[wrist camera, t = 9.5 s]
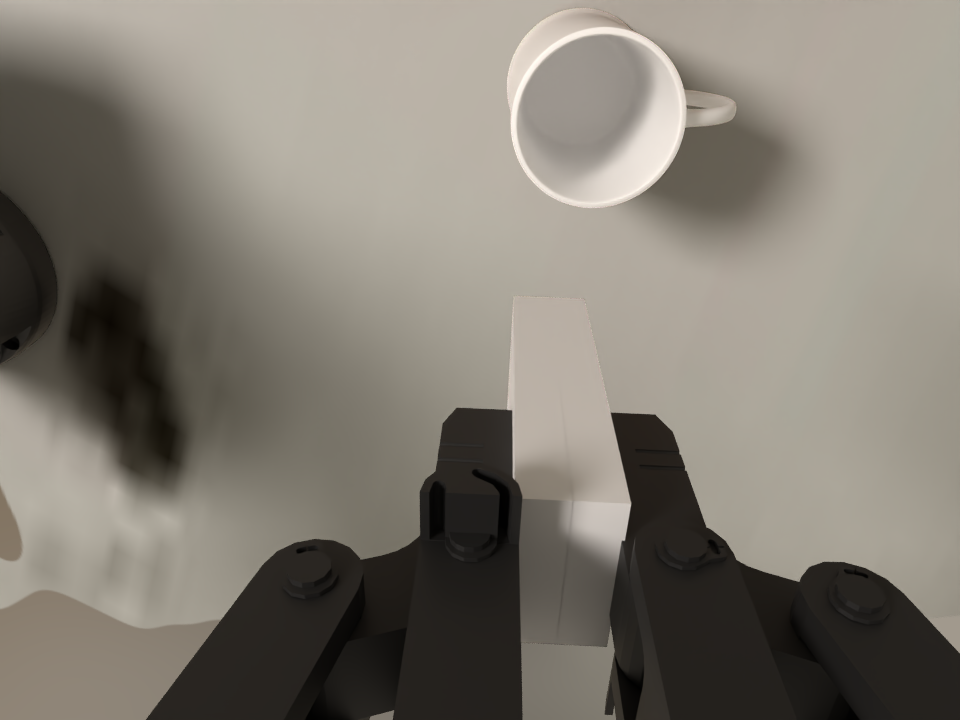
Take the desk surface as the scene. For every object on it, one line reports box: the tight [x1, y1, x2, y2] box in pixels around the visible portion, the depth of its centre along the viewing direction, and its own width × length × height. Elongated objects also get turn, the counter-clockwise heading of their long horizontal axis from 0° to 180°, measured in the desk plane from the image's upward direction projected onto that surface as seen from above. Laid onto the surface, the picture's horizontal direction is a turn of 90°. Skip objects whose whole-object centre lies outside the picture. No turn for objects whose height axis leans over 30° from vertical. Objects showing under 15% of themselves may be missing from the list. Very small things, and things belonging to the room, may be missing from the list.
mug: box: [507, 8, 737, 208], centre depth 38 cm, size 12×8×12 cm
